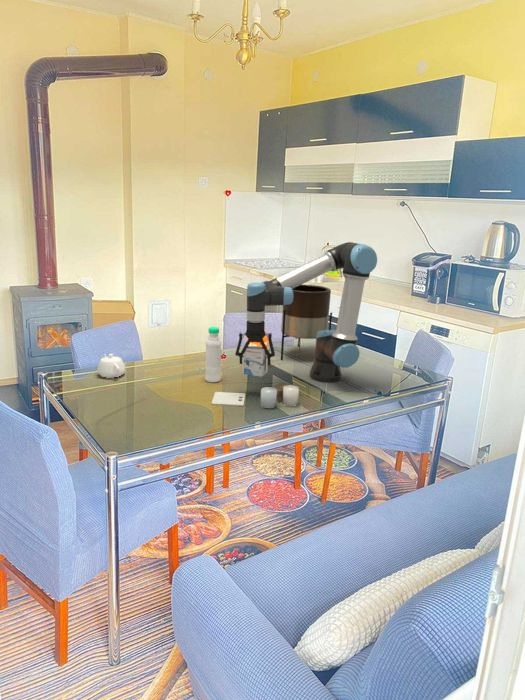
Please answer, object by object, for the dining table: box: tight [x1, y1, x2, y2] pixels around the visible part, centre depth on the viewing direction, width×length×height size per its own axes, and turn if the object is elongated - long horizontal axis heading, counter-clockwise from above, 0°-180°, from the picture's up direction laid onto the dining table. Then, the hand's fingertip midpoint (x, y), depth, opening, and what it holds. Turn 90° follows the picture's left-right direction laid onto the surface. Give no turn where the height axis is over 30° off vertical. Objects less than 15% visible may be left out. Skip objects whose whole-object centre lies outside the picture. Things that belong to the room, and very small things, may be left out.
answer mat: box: [211, 391, 246, 407], centre depth 214 cm, size 13×13×1 cm
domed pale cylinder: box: [259, 386, 277, 409], centre depth 208 cm, size 6×6×7 cm
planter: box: [280, 284, 333, 361], centre depth 274 cm, size 27×26×38 cm
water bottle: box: [204, 326, 222, 383], centre depth 232 cm, size 7×7×25 cm
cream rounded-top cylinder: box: [281, 384, 300, 407], centre depth 212 cm, size 6×6×7 cm
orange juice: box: [246, 328, 269, 356], centre depth 259 cm, size 8×9×20 cm
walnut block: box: [272, 385, 285, 402], centre depth 217 cm, size 5×5×5 cm
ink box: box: [243, 345, 267, 377], centre depth 218 cm, size 9×5×12 cm, turn 71°
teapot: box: [96, 353, 126, 379], centre depth 235 cm, size 20×12×10 cm, turn 34°
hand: (254, 371), depth 219 cm, fingers closed on ink box, 9 cm apart
